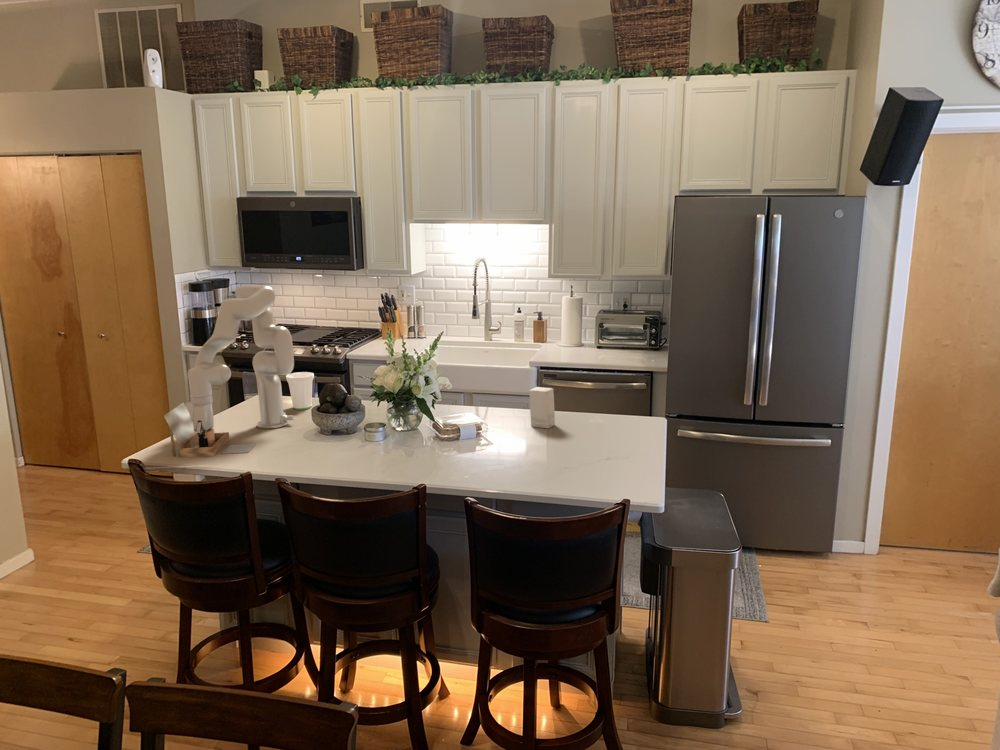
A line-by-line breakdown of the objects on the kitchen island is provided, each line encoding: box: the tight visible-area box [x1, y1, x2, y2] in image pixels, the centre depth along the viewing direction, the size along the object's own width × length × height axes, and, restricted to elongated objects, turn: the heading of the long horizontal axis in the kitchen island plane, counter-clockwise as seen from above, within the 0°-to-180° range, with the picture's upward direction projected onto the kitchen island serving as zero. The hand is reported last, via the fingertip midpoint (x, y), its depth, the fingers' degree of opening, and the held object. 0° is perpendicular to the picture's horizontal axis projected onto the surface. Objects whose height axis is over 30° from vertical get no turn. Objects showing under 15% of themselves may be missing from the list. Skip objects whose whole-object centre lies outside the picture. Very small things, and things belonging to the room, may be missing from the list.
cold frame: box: [163, 402, 230, 458], centre depth 286 cm, size 16×20×16 cm
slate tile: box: [220, 443, 256, 455], centre depth 285 cm, size 10×10×1 cm
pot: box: [197, 428, 215, 447], centre depth 287 cm, size 6×6×7 cm
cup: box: [285, 371, 315, 411], centre depth 345 cm, size 12×12×15 cm
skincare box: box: [528, 386, 556, 429], centre depth 306 cm, size 8×7×16 cm
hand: (207, 445), depth 288 cm, fingers closed on pot, 6 cm apart
